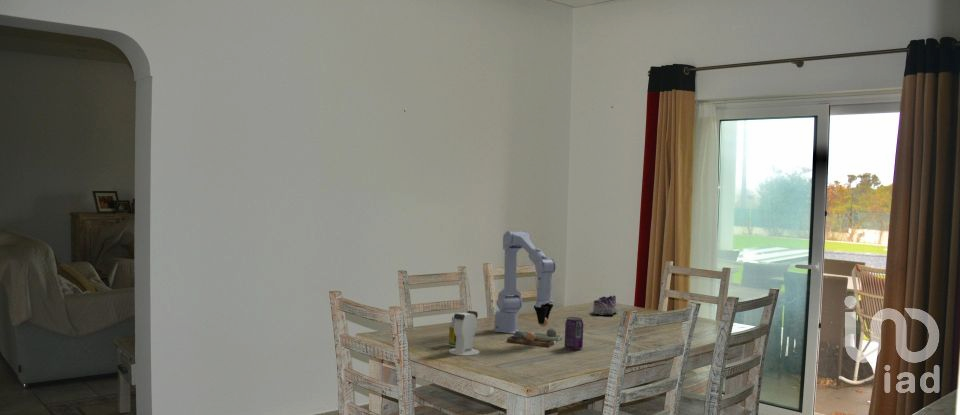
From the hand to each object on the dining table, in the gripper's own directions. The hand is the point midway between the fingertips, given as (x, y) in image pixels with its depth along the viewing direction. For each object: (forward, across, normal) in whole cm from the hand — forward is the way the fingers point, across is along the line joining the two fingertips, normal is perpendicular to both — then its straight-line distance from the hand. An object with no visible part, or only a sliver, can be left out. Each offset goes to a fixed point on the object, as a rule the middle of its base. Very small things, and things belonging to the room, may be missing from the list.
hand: (542, 322), depth 305 cm
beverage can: (+9, 0, -13) cm, 16 cm away
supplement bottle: (+9, -21, +28) cm, 36 cm away
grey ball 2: (+6, +12, 0) cm, 14 cm away
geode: (+9, +89, -4) cm, 90 cm away
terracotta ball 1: (+6, 0, +5) cm, 8 cm away
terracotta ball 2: (0, 0, 0) cm, 0 cm away
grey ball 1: (+6, 0, +10) cm, 12 cm away
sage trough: (+9, +10, +5) cm, 14 cm away
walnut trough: (+9, 0, +5) cm, 10 cm away
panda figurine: (+9, -29, +21) cm, 37 cm away
